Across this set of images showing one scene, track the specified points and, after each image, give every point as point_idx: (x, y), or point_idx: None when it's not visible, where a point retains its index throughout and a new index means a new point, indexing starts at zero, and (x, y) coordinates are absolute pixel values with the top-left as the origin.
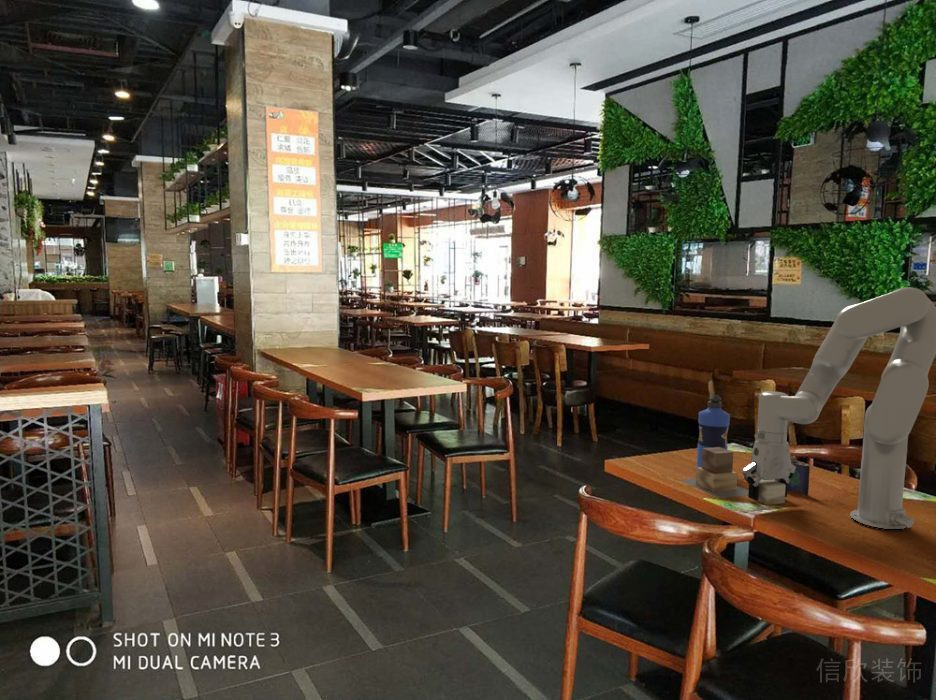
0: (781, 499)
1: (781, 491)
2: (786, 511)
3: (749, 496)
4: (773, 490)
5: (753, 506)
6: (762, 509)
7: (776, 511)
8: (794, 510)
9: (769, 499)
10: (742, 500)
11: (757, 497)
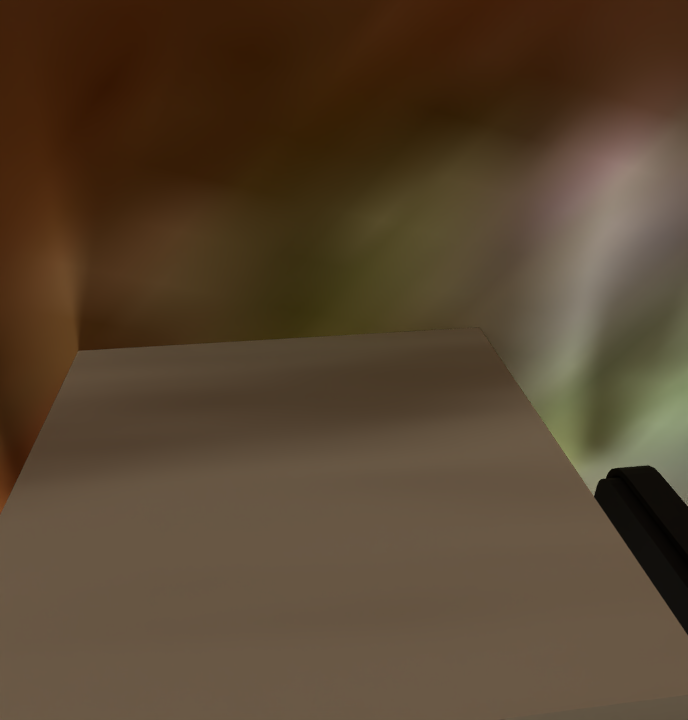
0: (136, 419)
1: (118, 562)
2: (271, 44)
3: None
4: (425, 578)
5: (621, 408)
6: (622, 267)
7: (479, 107)
8: (31, 49)
9: (469, 413)
10: None
11: (659, 501)
